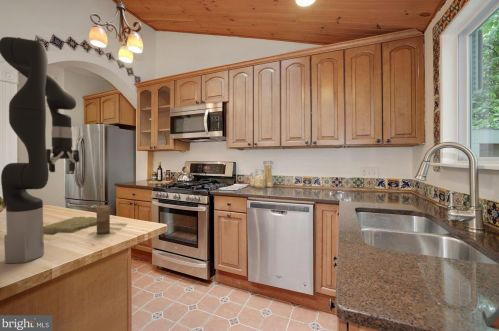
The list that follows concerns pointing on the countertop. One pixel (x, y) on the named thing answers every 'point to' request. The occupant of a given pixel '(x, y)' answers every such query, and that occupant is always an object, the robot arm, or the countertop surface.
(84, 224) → the decorative tile
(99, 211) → the walnut roller
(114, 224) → the birch board
